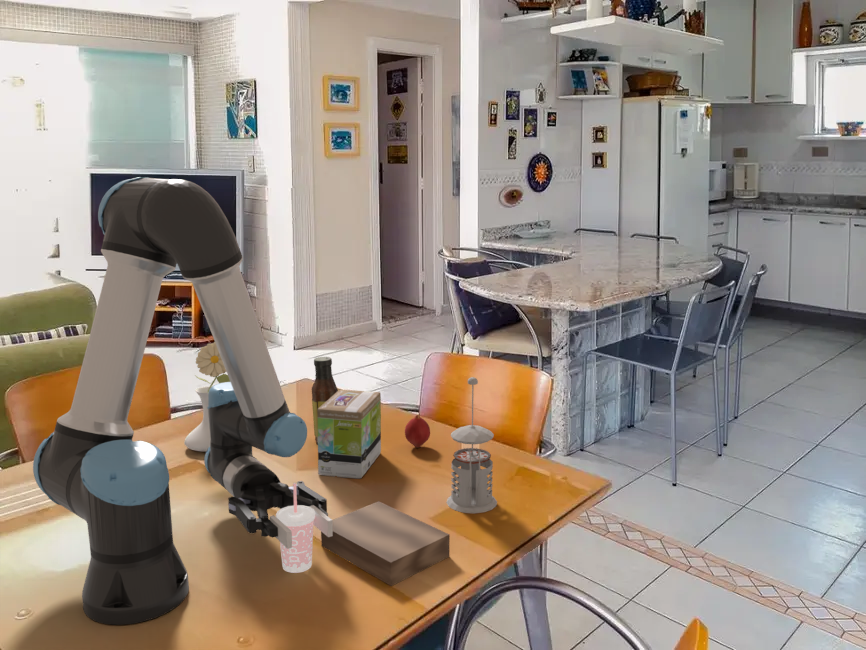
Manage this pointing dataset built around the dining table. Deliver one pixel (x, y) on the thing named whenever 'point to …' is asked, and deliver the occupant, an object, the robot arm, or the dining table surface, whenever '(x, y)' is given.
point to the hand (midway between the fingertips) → (310, 534)
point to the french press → (472, 469)
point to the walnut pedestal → (386, 542)
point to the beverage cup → (297, 536)
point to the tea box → (349, 433)
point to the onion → (417, 431)
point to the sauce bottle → (322, 387)
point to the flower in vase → (206, 394)
